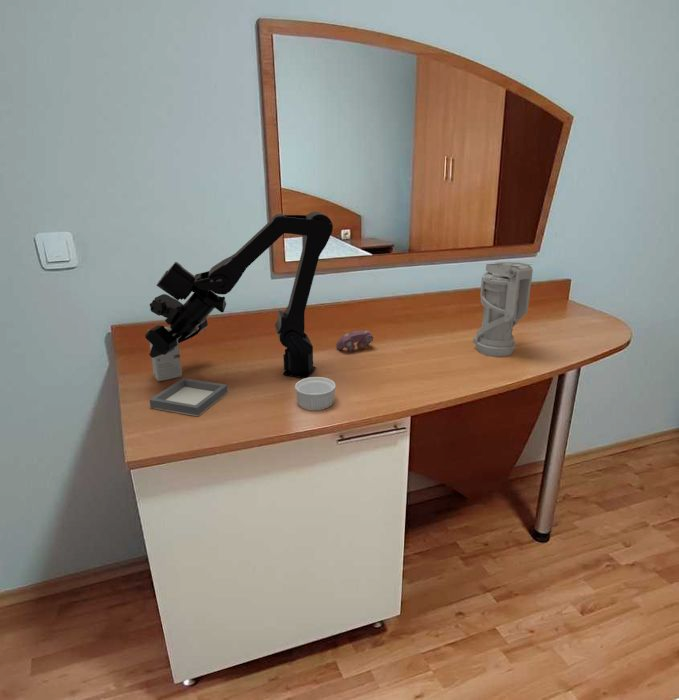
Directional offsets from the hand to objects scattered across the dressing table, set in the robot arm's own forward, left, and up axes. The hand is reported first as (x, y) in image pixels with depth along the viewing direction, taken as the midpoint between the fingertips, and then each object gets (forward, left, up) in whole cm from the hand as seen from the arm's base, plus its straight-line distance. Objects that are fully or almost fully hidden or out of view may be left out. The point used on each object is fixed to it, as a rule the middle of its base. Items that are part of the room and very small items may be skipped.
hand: (159, 350), depth 125 cm
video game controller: (-40, -32, -7) cm, 52 cm away
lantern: (-77, -43, -7) cm, 89 cm away
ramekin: (-41, +1, -7) cm, 42 cm away
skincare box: (-1, 0, -7) cm, 7 cm away
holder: (-14, +9, -7) cm, 18 cm away
